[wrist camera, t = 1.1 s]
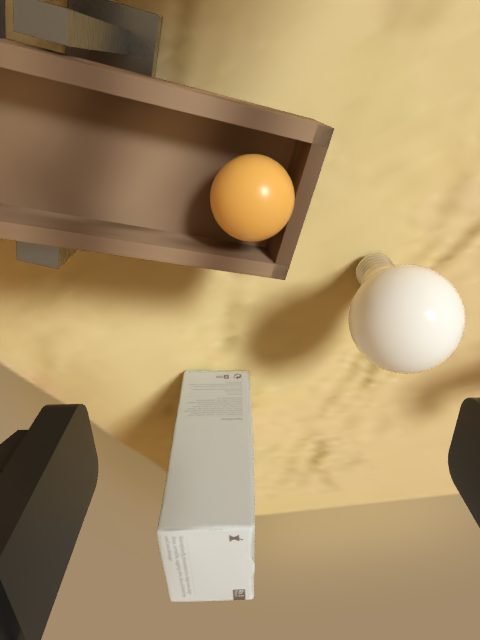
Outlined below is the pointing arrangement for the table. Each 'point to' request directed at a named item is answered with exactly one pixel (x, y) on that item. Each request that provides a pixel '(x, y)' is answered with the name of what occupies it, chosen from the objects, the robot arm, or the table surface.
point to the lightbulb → (404, 316)
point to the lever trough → (138, 162)
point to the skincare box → (210, 491)
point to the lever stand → (91, 44)
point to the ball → (252, 197)
